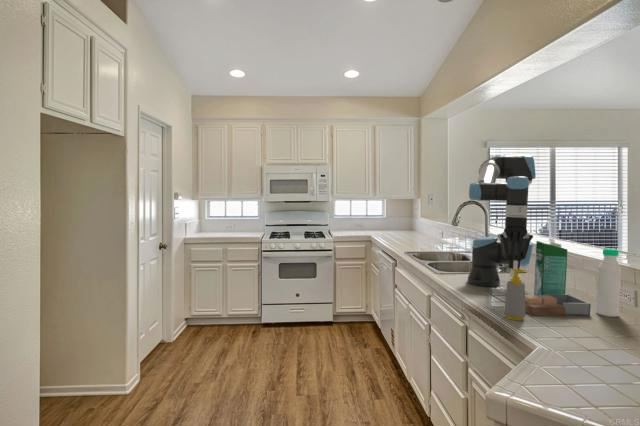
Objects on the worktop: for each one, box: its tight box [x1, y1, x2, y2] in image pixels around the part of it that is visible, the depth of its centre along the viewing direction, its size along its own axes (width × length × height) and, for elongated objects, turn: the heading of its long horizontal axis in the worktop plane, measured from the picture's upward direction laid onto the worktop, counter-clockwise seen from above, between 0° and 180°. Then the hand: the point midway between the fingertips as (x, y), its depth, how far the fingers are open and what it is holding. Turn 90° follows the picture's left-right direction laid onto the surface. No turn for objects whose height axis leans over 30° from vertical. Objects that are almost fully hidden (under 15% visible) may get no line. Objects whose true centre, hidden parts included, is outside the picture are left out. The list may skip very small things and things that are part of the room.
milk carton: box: [533, 240, 568, 296], centre depth 165 cm, size 9×9×25 cm
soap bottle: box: [503, 269, 527, 321], centre depth 141 cm, size 7×7×18 cm
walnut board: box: [525, 302, 566, 317], centre depth 152 cm, size 15×12×3 cm
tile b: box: [537, 295, 557, 304], centre depth 152 cm, size 5×5×2 cm
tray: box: [544, 293, 592, 316], centre depth 152 cm, size 13×10×4 cm
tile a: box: [525, 294, 542, 304], centre depth 152 cm, size 5×5×2 cm
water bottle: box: [595, 248, 622, 318], centre depth 146 cm, size 7×7×25 cm
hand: (513, 276), depth 151 cm, fingers closed
